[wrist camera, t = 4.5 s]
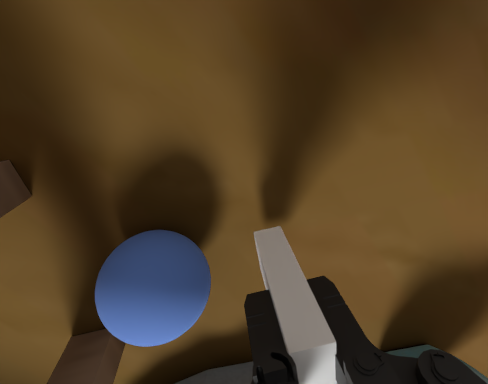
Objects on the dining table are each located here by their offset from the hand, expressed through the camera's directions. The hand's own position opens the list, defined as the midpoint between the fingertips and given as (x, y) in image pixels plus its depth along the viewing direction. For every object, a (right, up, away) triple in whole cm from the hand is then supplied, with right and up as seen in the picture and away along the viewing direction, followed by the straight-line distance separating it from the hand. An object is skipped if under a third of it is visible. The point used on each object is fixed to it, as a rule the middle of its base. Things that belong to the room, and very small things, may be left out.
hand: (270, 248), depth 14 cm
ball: (-6, -2, -1) cm, 6 cm away
